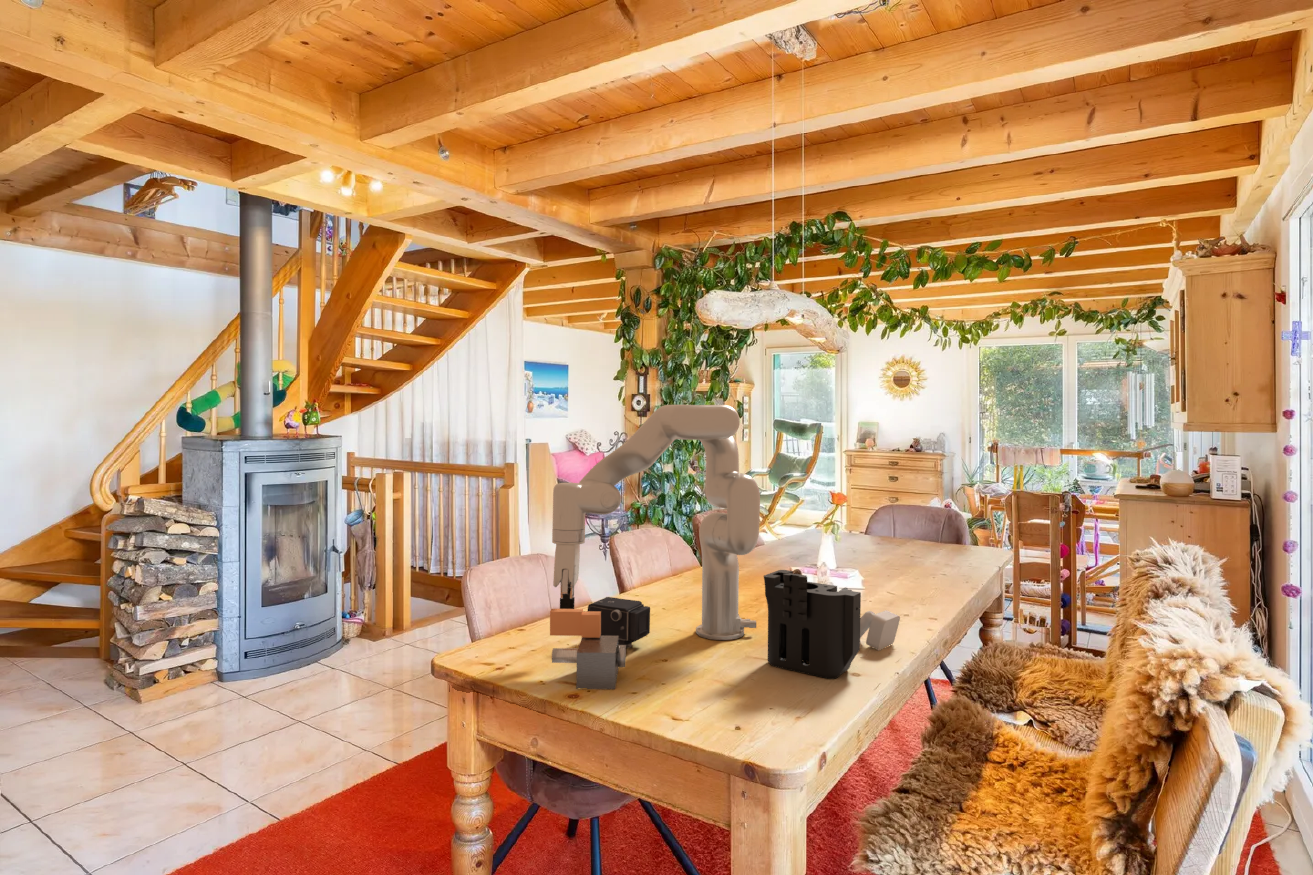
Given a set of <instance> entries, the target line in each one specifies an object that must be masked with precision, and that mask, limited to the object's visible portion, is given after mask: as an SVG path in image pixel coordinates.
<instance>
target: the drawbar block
mask: <svg viewBox="0 0 1313 875" xmlns="http://www.w3.org/2000/svg"><path fill="white" fill-rule="evenodd" d="M618 645H619V636H600V638H585V637H582V636H581V640H580V641H579V645H578V650H577V663H576V689H577V688H587V689H586V690H616V685H617V680H618V674H619V667H617V663H616V650H617V649H618Z"/></svg>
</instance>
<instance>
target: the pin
mask: <svg viewBox="0 0 1313 875" xmlns="http://www.w3.org/2000/svg"><path fill="white" fill-rule="evenodd" d="M626 649H627V648H626V645H618V649H617V650H616V663H617V667H618V668H626V661H627V660H626V656H627V655H626V654H627V653H626V652H627V650H626ZM577 650H578V648H576V647H575V648H573V647H572V648H569V647H567V648H563V647H562V648H561V647H560V648H559V647H558V648H557V647H556V648H555V647H554V648H552V652H551V663H553V664H554V663H555V664H556V663H557V664H558V663H559V664H561V663H562V664H577Z"/></svg>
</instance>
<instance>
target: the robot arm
mask: <svg viewBox="0 0 1313 875" xmlns="http://www.w3.org/2000/svg"><path fill="white" fill-rule="evenodd" d="M740 419H741V418H740V416H739V413H738V412H737V411H736V409H734V407H732V406H730V405H727V404H701V405H700V404H665V405H662V406H659V407H658V408H657V409H655V411H653V412H652V414H651V415H650V416H649V417H648V418H647V419H646V420H645V421H644V423H642V425H640V427H639V428H638V429H637V430H636V431H635V432H634V433H633V434H632V435H631V436H630V437H629V439H627V441H625V442H624V443H623V444H622V445H621V446H619V447H617V448H616V449H614V450H613V451H612V452H611V453H609V454H607V455H606V456H605V457H604V458H602V459H601V460H600V461H598V462H597V463H596V464H595V465H594V466H592V468H590V470H589V471H588V472H587V473H586V474H585V475H584V476H583V477H582V479H581V480H580V481H579V482H558V483H557V484H555V485H554V486H553V492H552V527H551V529H552V531H551V532H552V533H551V537H552V538H551V542H552V543H553V544H554V545H555V551H554V564H553V579H552V580H553V582H552V586H553V587H554V588H557V587H558V586H559V585H560V586H559V588H560V598H559V609H575V598H576V597H575V586H576V584H577V583H578V580H579V575H580V574H579V573H580V557H581V556H580V554H581V553H580V546H581V545H582V544H585V542H586V541H585V540H586V539H585V538H586V537H585V536H586V514H594V515H610V514H612V513H614V512H615V511H617V510H618V508H619V507H620V505H621V502H622V495H621V492H620V490H619V489H618V488H617V487H616V485H617V484H618V483H620V482H621V481H623V480H624V479H626V478H627V477H631V476H633V475H635V474H640V473H641V472H644V471H645V470H647V469H649V468H651V467H652V466H653V465H654V463H655V462H656V461H657V460H658V459H659V458H660V457H661V455H662V454H663V453H665V451H666V450H667V449H668V448H669V447H670V446H671V445H672V443H673V442H674V441H676V440H687V441H688V440H690V441H693V440H694V441H700V442H701V444H702V446H703V449H704V453H705V487H704V488H705V499H706V500H707V502H708V503H709V504H710V505H712V506H713V507H716V508H719V509H720V508H721V509H724V510H726V512H719V511H718V512H712V513H709V514H707V515H706V516H704V518H703V519H702V521H701V522H700V524H699V529H698V530H699V531H698V532H699V533H698V536H699V543H700V549H701V559H702V560H701V566H702V569H701V570H702V573H701V576H702V577H701V579H702V580H701V624H699V625H697V626H696V628H695V634H696V635H698V636H699V637H701V638H704V639H707V640H713V641H714V640H715V641H730V640H736V639H739V638H742V637H743V636H744V634H745V628H749V629H757V620H753V619H751V618H742V617H741V616H740V613H739V589H740V587H739V585H740V584H739V582H740V581H739V578H740V577H739V576H740V566H739V559H738V556H745V555H748V554H750V553H751V552H753V550H754V549H755V548H756V546H757V544H758V542H759V534H760V521H761V520H760V517H761V516H760V514H761V493H760V489H759V486H758V484H757V482H756V480H755V479H754V478H753V477H752V476H750V475H748V474H745V473H741V472H740V463H739V460H740V459H739V456H740V455H739V447H738V444H737V441H736V439H735V437H734V435H735V434H736V433H737V432H738V430H739V428H740V423H741V422H740V421H741V420H740Z"/></svg>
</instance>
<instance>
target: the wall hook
mask: <svg viewBox="0 0 1313 875" xmlns="http://www.w3.org/2000/svg"><path fill="white" fill-rule="evenodd" d="M900 620H901V617H900V615H898V614H896V613H893V612H891V611H889V610H887V609H885V610H883V611H880V612H877V613H875V612H874V611H871V610H868V611H866V612H865V613H863V615H861V616H860V639H861V638H862V637H863V635H865V633H866V632H867V636H866V640H865V643H866V645H867V646H869V647H871V648H873V649H875V650H876V651H879V650H880V651H882V650H884V649H883V648H885V647H887V646H889V645H891V644H892V645H893V644H894V642H895V640H896V636H897V632H898V630H899V629H898V628H899V625H900V624H899V623H900ZM892 645H891V646H892ZM889 647H890V646H889ZM887 648H888V647H887ZM881 649H882V650H881ZM885 649H886V648H885Z"/></svg>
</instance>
